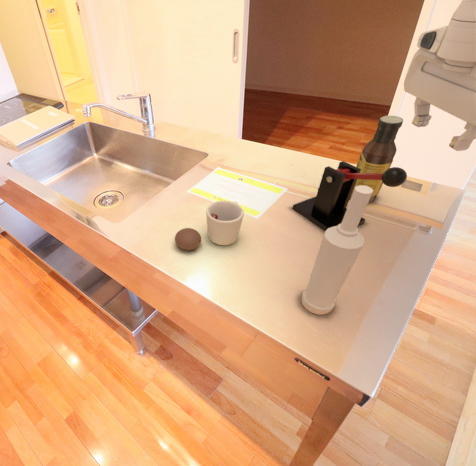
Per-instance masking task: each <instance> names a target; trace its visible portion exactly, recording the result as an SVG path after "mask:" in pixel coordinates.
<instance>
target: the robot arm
mask: <svg viewBox="0 0 476 466" xmlns="http://www.w3.org/2000/svg"><path fill="white" fill-rule="evenodd" d="M416 46H417V48H419V49H417V50H416V52H415V53H414V54H413V56H412V58H411V61H410V64H409V65H408V69H407V72H406V75H405V78H404V80H403V89H404V92H405V93H408V94H409V95H412V96H413V97H415V100H414V103H413V105H414V106H413V108H414V116H413V118H412V120H411V124H412V125H413V126H414V127H417V128H421V127H422V128H424V127H428V125H429V123H430V121H431V119H432V115H430V111H431V110H430V109H431V105H432V106H433V107H436V108H437V109H439V110H442V111H443V112H445V113H447V114H450V116H451V115H452V116H454V117H456V118H457V119H459V120H461V121H464V122H466V123H465V125H464V127H463V129H464V130H465V131H464V132H463V133H461V134H460V135H455V136H454V135H453V137H452V138H451V140H450V142H449V144H448V147H450V148H451V149H452V150H455V151H456V152H461V151H467V150H468V149H469V148H470V146H471V144H472V143H473V141H474V140H476V0H461V2H460V4H459V5H458V6H457V8H456V9H455V11H454V12H453V14H452V16H451V19H450V21H449V23H448V25H445V26H441V27H438V28H434V29H430V30H426V31H423V32H421V33H420V35H419V37H418V39H417V43H416Z"/></svg>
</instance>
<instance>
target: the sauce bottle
mask: <svg viewBox="0 0 476 466" xmlns="http://www.w3.org/2000/svg"><path fill="white" fill-rule="evenodd" d="M403 123H404V119H403V118H402V117H401V116H397V115H383V116H381V117H380V118H379V120H378V122H377V128H376V131H375V133H374V135H373V138H372V139H370V140H369V141H367V142H366V143H365V145H364V147H363V148H362V150H361V153H360V155H359V158H358V161H357V164H356V165H355V167H357V168H359V169H361V171H360V173H380V174H383V173H384V172H385V171H386V170H387V169H389V168H391V166H392V164H393V162H394V158H395V156H396V153H397V146H396V142H395V140H396V137H397V134H398V132H399V130H400V128H401V127H402V126H403ZM359 185H364V186H368V187H370V188H372V189H373V193H372V195H371V198H370V200H369V202H368V203H370V202H372V201H375V200H376V199H377V197H378V194H380V191H381V189H382V187H383V185H384V183H383V182H382V180H365V179H357V181H356V184H355V186H354V189H355V187H356V186H359ZM354 189H353V191H352V194H353V192H354ZM352 194H351V197H352ZM351 197H350V198H351Z"/></svg>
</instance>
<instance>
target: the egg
mask: <svg viewBox="0 0 476 466" xmlns="http://www.w3.org/2000/svg"><path fill="white" fill-rule="evenodd" d="M174 242H175V244H176V245H177V246H178V247H179V248H180V249H182V250H185V251H186V250H187V251H191V250H194V249H197V248H198V247H199V246H200V245H201V244H202V243H201V242H202V235H201V234H200V233H199V231H197V230H196V229H194V228H192V227H185V228H182V229H179V230H178V231H177V232H176V234H175V236H174Z"/></svg>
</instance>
